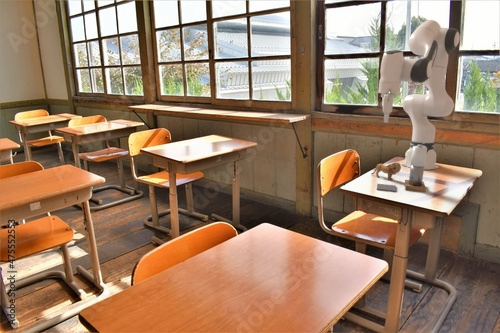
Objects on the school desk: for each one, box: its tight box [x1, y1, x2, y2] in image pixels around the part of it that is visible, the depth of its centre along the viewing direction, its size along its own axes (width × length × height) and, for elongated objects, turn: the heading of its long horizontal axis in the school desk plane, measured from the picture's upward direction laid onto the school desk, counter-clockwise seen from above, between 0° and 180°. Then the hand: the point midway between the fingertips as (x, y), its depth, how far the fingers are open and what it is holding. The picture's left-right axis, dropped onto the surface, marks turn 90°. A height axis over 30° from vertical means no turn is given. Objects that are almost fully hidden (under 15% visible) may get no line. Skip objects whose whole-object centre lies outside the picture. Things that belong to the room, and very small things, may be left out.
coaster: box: [376, 183, 397, 193], centre depth 171 cm, size 8×8×1 cm
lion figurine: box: [370, 162, 402, 182], centre depth 186 cm, size 15×5×9 cm, turn 44°
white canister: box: [411, 145, 427, 167], centre depth 167 cm, size 6×6×9 cm
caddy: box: [404, 179, 427, 193], centre depth 172 cm, size 10×8×4 cm
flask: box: [408, 165, 425, 186], centre depth 169 cm, size 5×5×9 cm
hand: (385, 121), depth 168 cm, fingers open, 8 cm apart
